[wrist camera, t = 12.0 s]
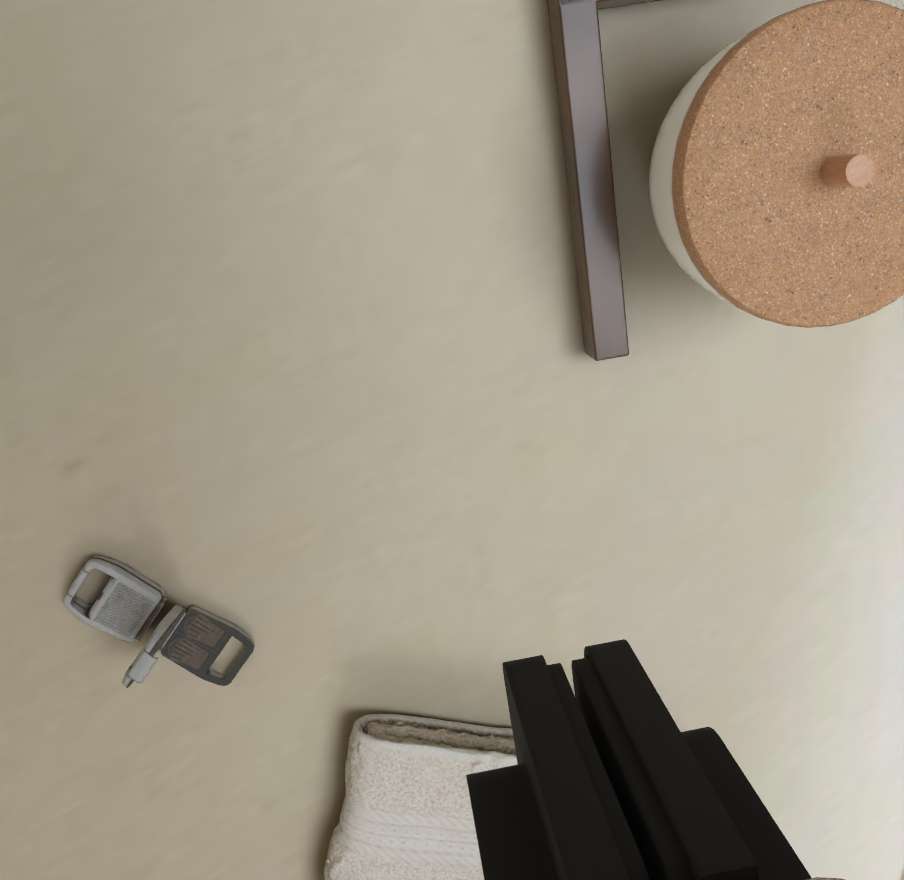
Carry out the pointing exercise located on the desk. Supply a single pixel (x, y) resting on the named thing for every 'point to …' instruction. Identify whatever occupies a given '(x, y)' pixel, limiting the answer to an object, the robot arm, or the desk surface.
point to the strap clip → (178, 634)
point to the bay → (590, 172)
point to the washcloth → (413, 799)
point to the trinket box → (792, 167)
